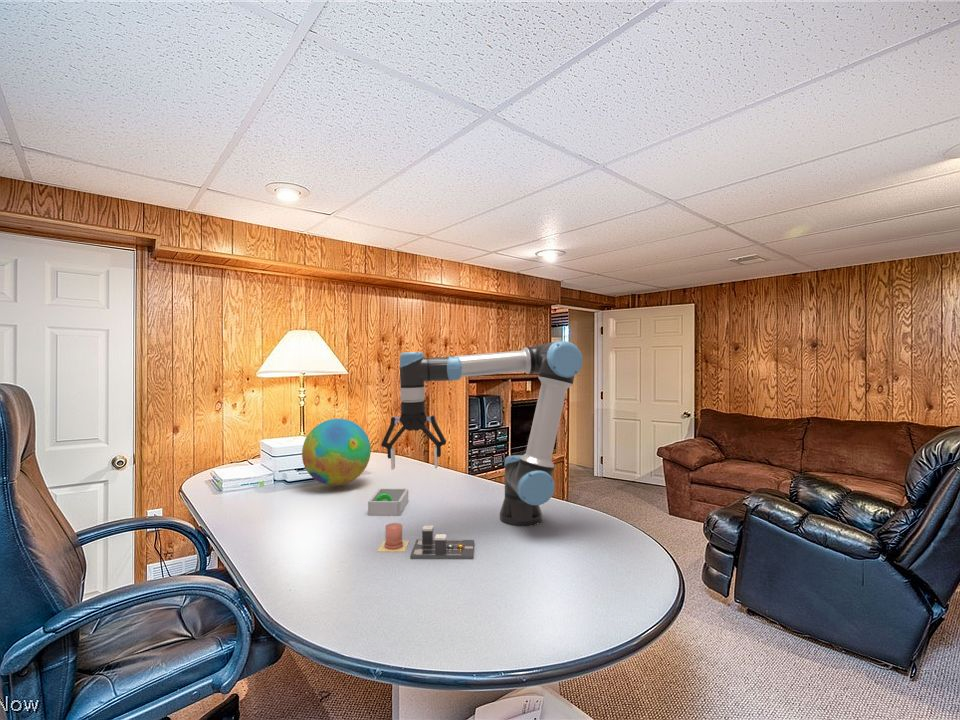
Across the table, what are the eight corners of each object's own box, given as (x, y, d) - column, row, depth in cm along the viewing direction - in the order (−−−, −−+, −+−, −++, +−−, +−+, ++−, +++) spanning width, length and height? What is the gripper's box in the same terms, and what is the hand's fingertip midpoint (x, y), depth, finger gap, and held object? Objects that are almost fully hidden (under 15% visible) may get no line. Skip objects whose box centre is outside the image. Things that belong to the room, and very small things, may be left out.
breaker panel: (474, 544, 145) (474, 537, 145) (473, 561, 133) (473, 553, 133) (416, 544, 145) (416, 536, 145) (410, 560, 133) (410, 552, 133)
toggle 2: (446, 549, 137) (446, 534, 137) (445, 554, 134) (445, 538, 134) (436, 549, 137) (436, 534, 137) (435, 554, 134) (435, 538, 134)
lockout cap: (404, 542, 145) (404, 522, 145) (401, 549, 140) (401, 529, 140) (386, 541, 145) (386, 522, 145) (382, 549, 140) (382, 529, 140)
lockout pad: (409, 542, 146) (409, 540, 146) (404, 553, 138) (404, 551, 138) (383, 542, 147) (383, 540, 147) (377, 553, 139) (377, 550, 139)
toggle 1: (433, 540, 144) (433, 525, 144) (432, 544, 141) (432, 529, 141) (423, 540, 144) (423, 525, 144) (422, 544, 141) (422, 529, 141)
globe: (288, 491, 202) (288, 422, 202) (322, 474, 231) (322, 414, 231) (353, 495, 197) (353, 424, 197) (380, 477, 226) (380, 415, 226)
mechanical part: (389, 510, 185) (389, 490, 185) (391, 515, 179) (391, 494, 179) (358, 513, 181) (358, 492, 181) (359, 518, 176) (359, 497, 176)
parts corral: (408, 500, 190) (408, 488, 190) (400, 515, 172) (400, 502, 172) (379, 500, 190) (379, 488, 190) (367, 515, 172) (367, 501, 172)
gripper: (452, 398, 151) (454, 464, 151) (375, 400, 151) (377, 466, 151) (451, 400, 144) (453, 469, 144) (370, 403, 144) (372, 472, 144)
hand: (414, 468), depth 148 cm, fingers open, 13 cm apart
